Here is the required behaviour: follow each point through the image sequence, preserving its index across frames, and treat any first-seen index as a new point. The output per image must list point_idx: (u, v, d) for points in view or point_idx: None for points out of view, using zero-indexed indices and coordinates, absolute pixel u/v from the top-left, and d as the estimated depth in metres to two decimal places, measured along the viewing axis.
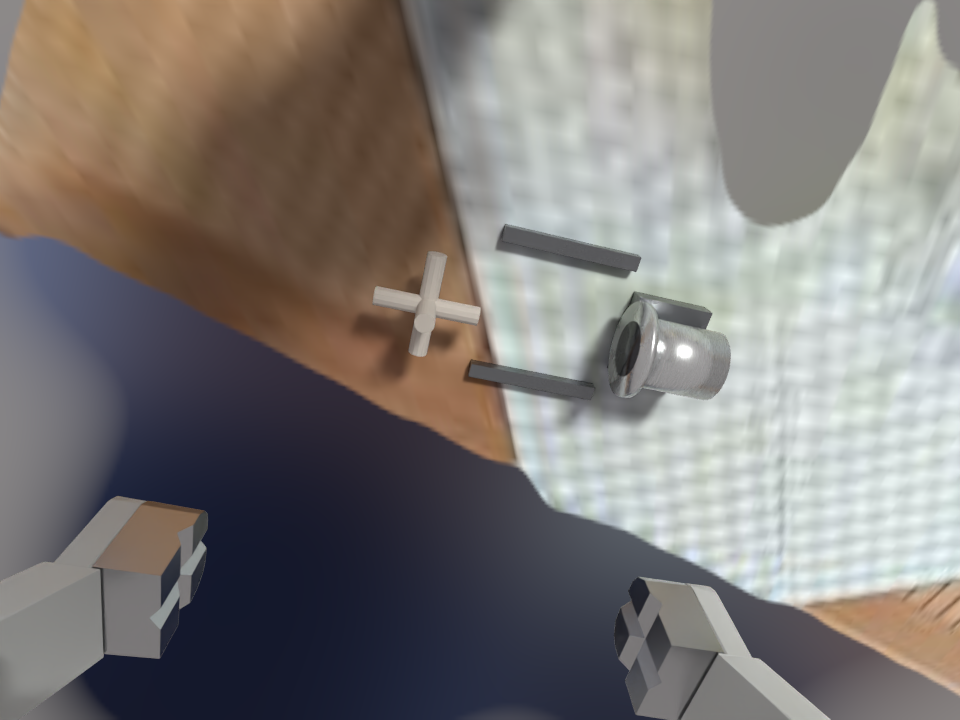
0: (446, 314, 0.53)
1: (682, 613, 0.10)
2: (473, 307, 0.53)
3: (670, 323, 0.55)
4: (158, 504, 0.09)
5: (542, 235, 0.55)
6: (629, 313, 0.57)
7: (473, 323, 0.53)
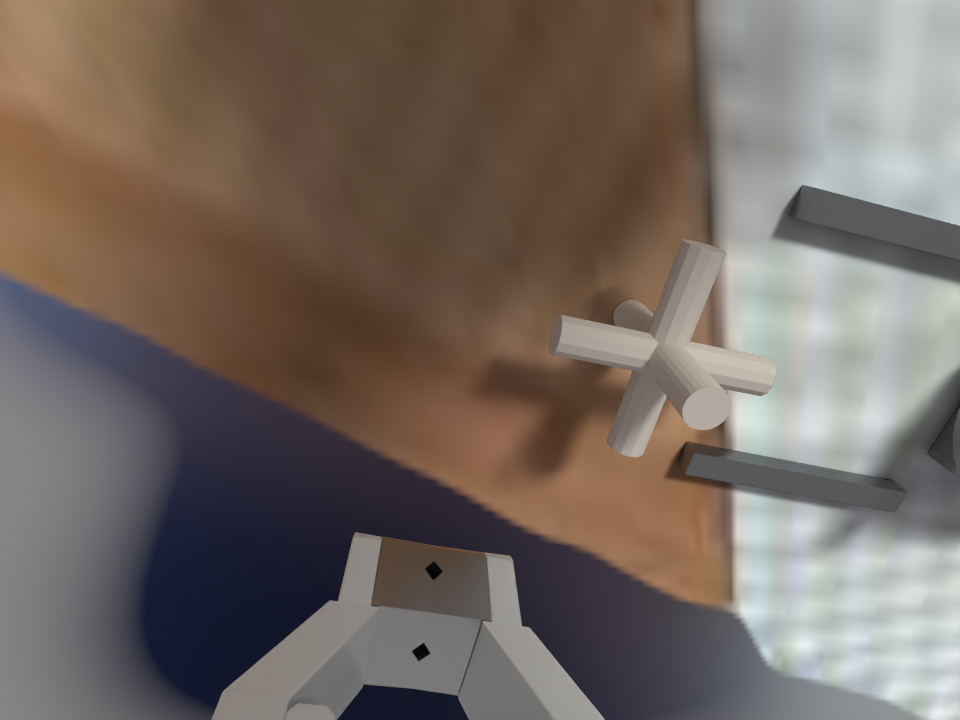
0: None
1: (461, 581, 0.09)
2: (759, 359, 0.25)
3: None
4: (394, 540, 0.10)
5: (884, 208, 0.27)
6: None
7: (757, 392, 0.25)
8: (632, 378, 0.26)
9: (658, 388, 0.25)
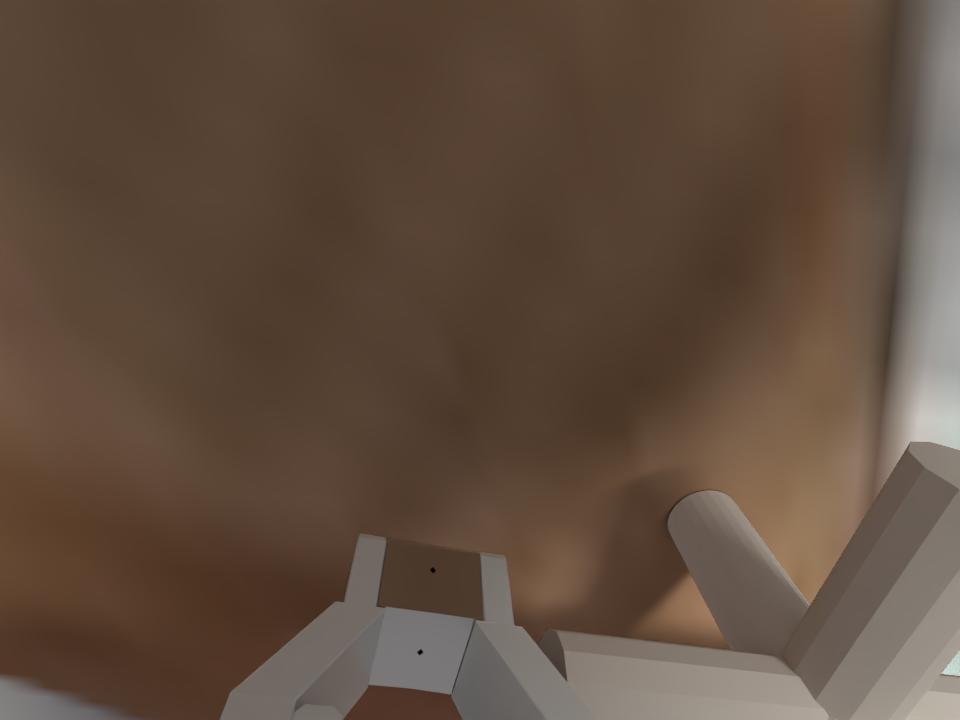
0: None
1: (454, 580, 0.09)
2: None
3: None
4: (398, 541, 0.10)
5: None
6: None
7: None
8: None
9: None
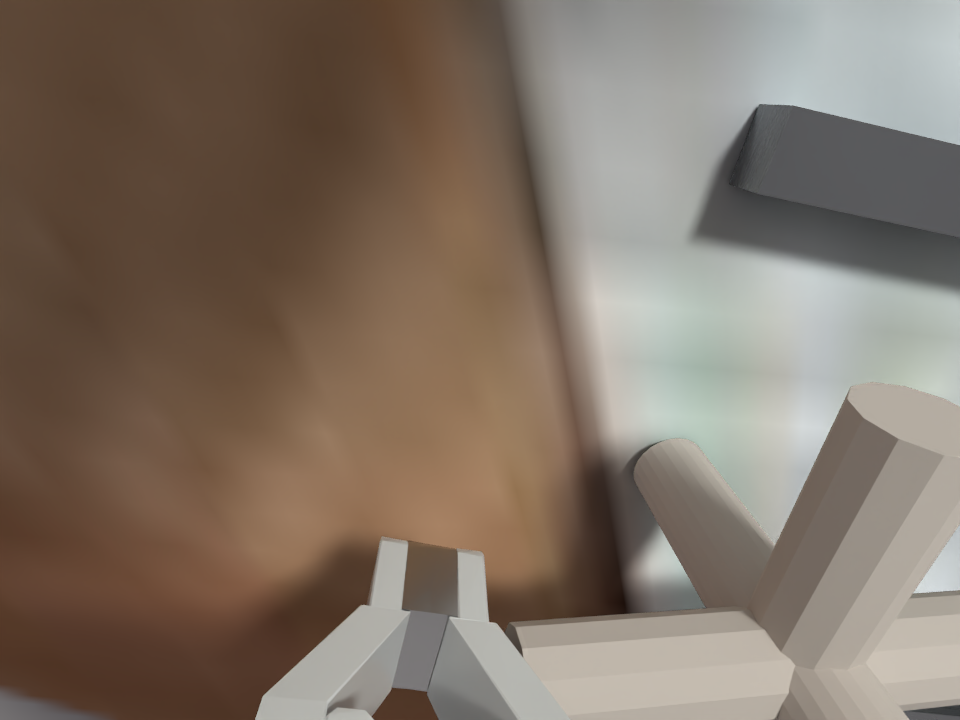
0: (924, 704, 0.09)
1: (430, 577, 0.09)
2: None
3: None
4: (419, 543, 0.10)
5: None
6: None
7: None
8: None
9: None
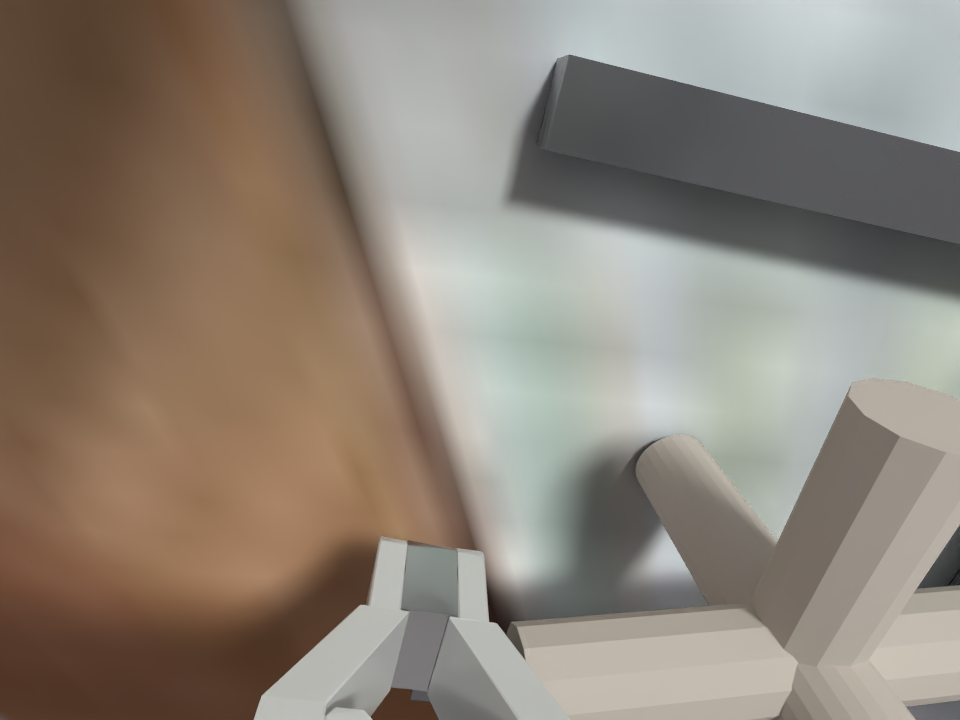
0: (928, 699, 0.09)
1: (430, 577, 0.09)
2: None
3: None
4: (419, 543, 0.10)
5: (772, 111, 0.10)
6: None
7: None
8: None
9: None
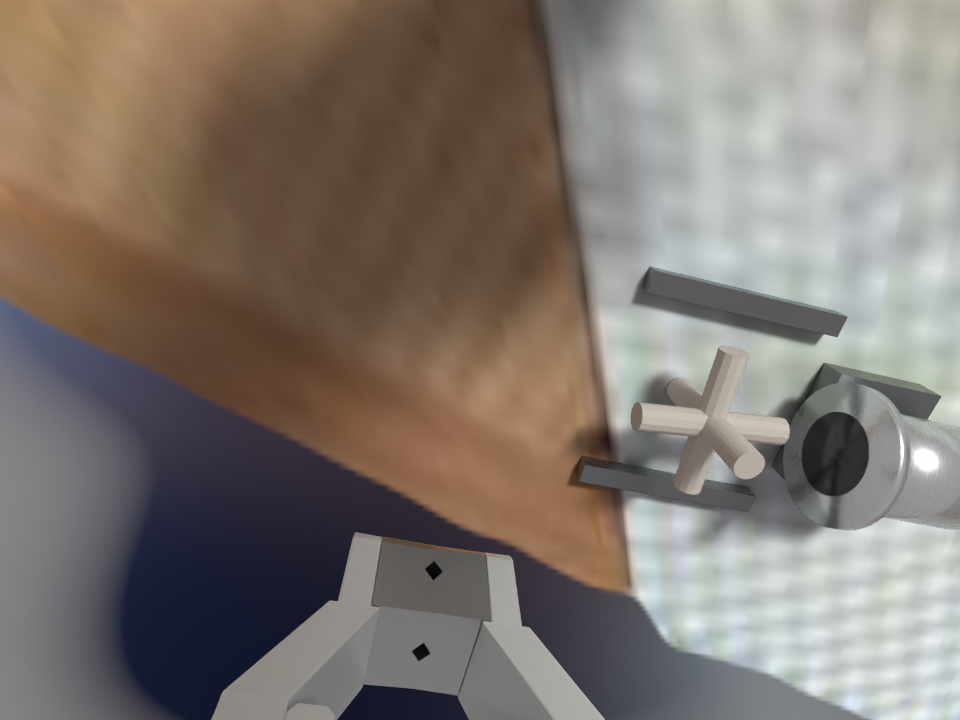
0: (743, 435, 0.36)
1: (461, 581, 0.09)
2: (777, 420, 0.36)
3: (902, 417, 0.36)
4: (394, 539, 0.10)
5: (707, 284, 0.37)
6: (828, 398, 0.39)
7: (778, 443, 0.36)
8: (690, 440, 0.37)
9: (709, 447, 0.36)
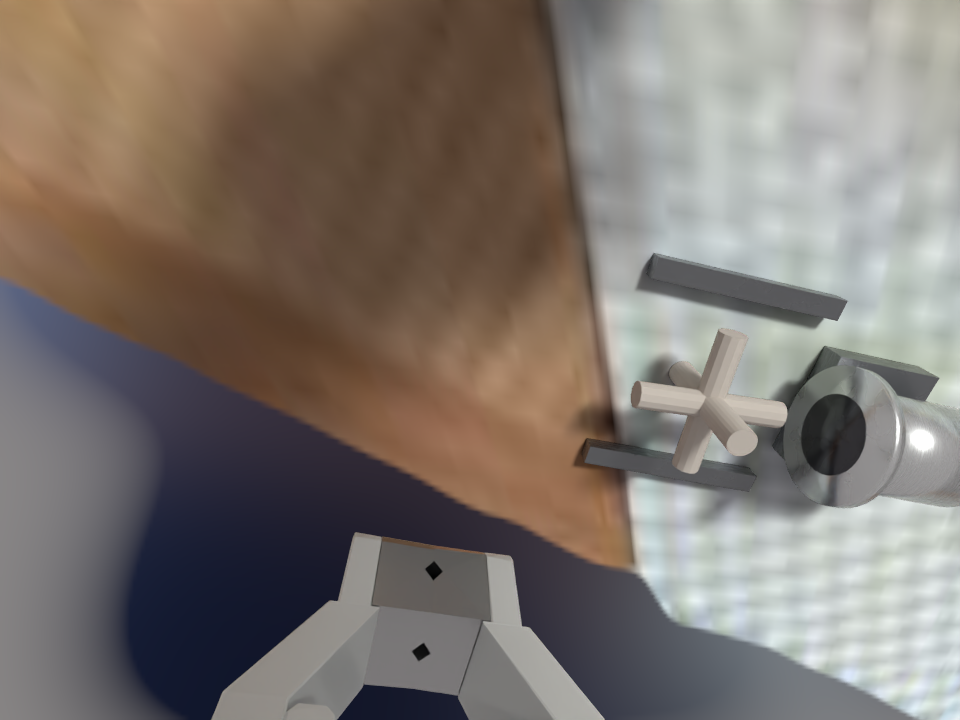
0: (740, 416, 0.37)
1: (461, 581, 0.09)
2: (775, 403, 0.37)
3: (900, 399, 0.37)
4: (394, 539, 0.10)
5: (710, 270, 0.38)
6: (828, 381, 0.40)
7: (775, 426, 0.37)
8: (688, 420, 0.38)
9: (707, 426, 0.37)
